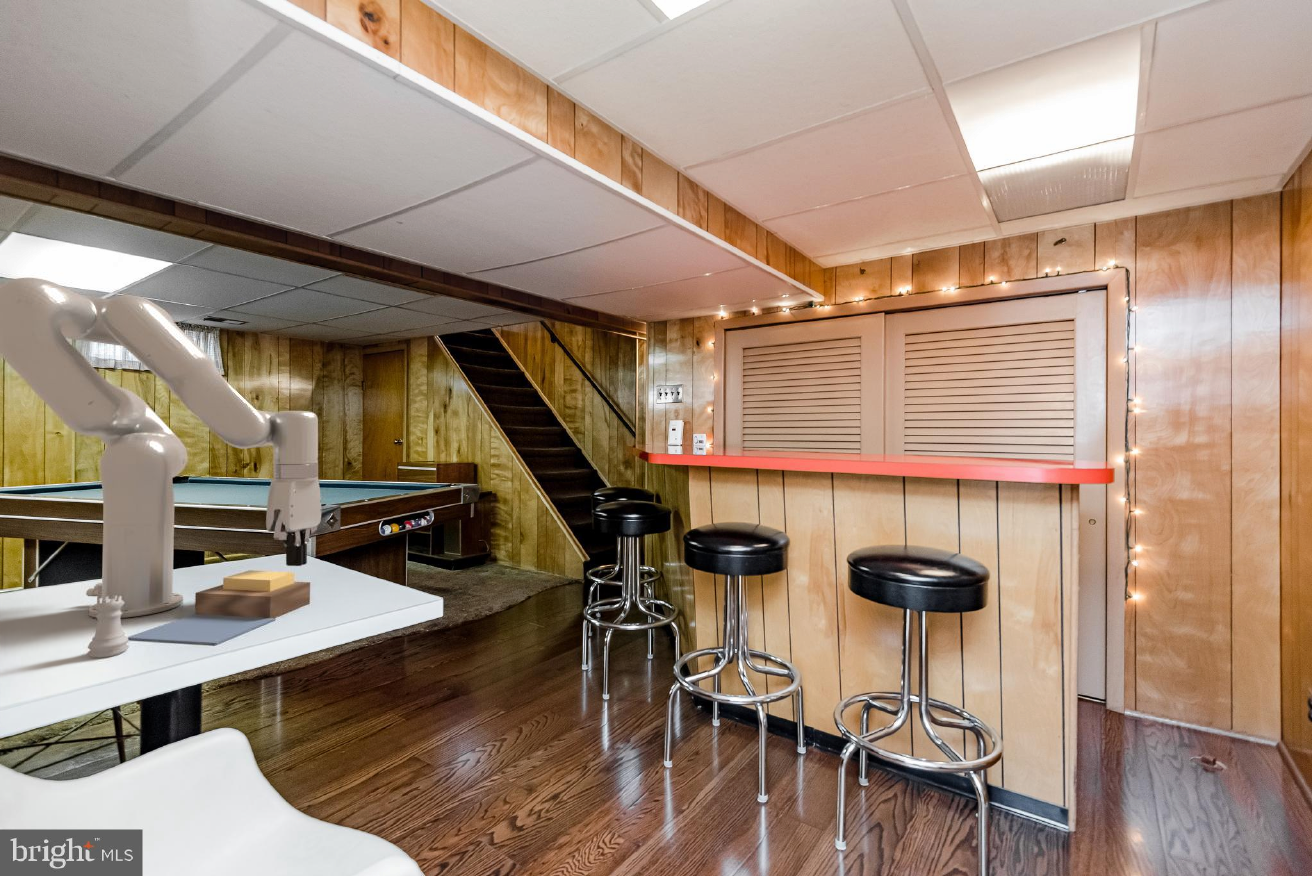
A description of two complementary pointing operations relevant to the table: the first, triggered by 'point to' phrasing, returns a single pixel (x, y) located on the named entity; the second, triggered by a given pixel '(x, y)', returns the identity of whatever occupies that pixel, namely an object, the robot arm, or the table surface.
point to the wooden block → (252, 601)
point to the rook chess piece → (108, 629)
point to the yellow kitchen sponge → (258, 580)
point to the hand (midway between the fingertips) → (296, 564)
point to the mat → (202, 629)
